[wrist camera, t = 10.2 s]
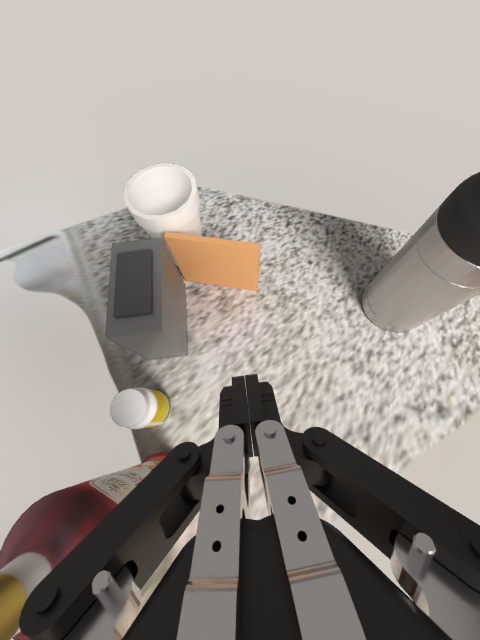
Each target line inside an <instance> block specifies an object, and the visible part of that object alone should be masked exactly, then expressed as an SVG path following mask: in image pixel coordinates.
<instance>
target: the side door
mask: <svg viewBox="0 0 480 640" xmlns="http://www.w3.org/2000/svg"><path fill="white" fill-rule="evenodd" d="M164 239H165V241H166V243H167V245H168V247H169V249H170V251H171V253H172V255H173V257H174V259H175V261H176V263H177V265H178V267H179V269H180V271H181V273H182V275H183V277H184V279H185V280H186V281H192V282H199V283H206V284H213V285H219V286H226V287H233V288H240V289H246V290H253V291H257V289H258V276H259V258H260V244H257V243H250V242H242V241H234V240H226V239H219V238H211V237H203V236H195V235H188V234H180V233H172V232H165V234H164Z"/></svg>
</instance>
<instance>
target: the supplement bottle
mask: <svg viewBox="0 0 480 640" xmlns="http://www.w3.org/2000/svg"><path fill="white" fill-rule="evenodd" d="M170 413H171V401H170V399H169V397H168V396H167V395H166V394H165V393H163V392H161V391H157V390H153V389H148V388H144V387H137V388H133V389H125V390H123V391H121V392H119V393H118V394H117V395H116V396H115V397H114V399H113V401H112V403H111V407H110V414H111V417H112V419H113V421H114V422H115V423H116V424H117V425H119V426H123V427H127V428H129V429H142V428H150V427H156V426H159V425H161V424H163V423H164V422H165V421H166V420H167V418H168V417H169V415H170Z"/></svg>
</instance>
